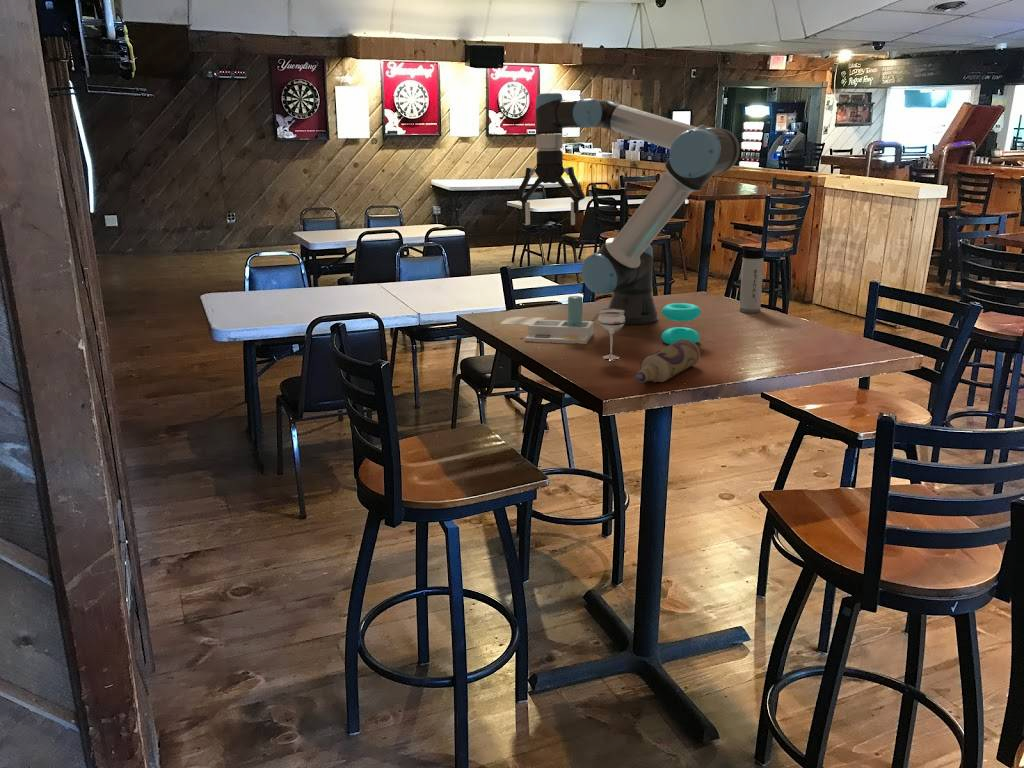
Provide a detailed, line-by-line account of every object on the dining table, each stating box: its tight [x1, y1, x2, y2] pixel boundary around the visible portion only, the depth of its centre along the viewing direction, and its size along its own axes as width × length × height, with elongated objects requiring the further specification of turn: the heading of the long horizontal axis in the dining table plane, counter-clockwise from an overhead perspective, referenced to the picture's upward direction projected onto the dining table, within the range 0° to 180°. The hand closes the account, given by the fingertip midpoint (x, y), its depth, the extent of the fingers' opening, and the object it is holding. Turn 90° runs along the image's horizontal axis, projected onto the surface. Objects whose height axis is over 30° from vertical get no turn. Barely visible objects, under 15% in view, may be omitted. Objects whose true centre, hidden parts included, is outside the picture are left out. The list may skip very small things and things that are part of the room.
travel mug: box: [739, 245, 765, 314], centre depth 256 cm, size 6×7×20 cm
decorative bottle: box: [634, 339, 701, 383], centre depth 191 cm, size 26×8×7 cm, turn 144°
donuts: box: [661, 302, 702, 345], centre depth 221 cm, size 10×10×10 cm
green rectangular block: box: [567, 295, 584, 327], centre depth 230 cm, size 4×4×10 cm
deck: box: [499, 316, 547, 326], centre depth 248 cm, size 12×10×1 cm
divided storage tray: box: [524, 319, 594, 345], centre depth 230 cm, size 17×12×4 cm
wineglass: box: [597, 308, 625, 361], centre depth 207 cm, size 7×7×12 cm
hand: (550, 224), depth 245 cm, fingers open, 13 cm apart
